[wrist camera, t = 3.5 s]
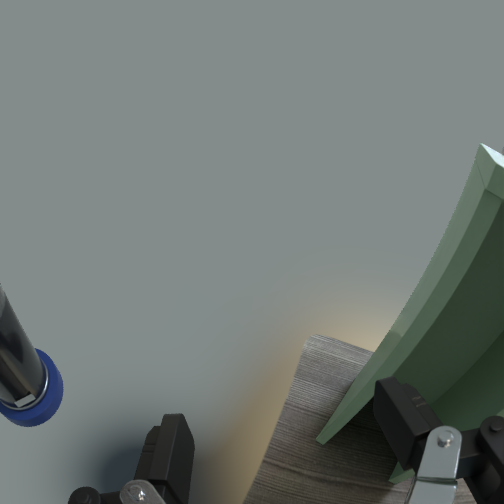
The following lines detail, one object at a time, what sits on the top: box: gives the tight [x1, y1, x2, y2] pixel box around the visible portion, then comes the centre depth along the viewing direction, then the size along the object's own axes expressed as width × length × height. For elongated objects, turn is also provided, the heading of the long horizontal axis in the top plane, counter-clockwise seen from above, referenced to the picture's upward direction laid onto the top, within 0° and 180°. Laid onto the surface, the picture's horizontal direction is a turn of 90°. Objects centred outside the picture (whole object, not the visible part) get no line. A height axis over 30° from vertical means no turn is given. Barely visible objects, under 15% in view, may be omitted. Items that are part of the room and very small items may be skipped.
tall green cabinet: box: [315, 143, 504, 484], centre depth 21 cm, size 12×12×32 cm
